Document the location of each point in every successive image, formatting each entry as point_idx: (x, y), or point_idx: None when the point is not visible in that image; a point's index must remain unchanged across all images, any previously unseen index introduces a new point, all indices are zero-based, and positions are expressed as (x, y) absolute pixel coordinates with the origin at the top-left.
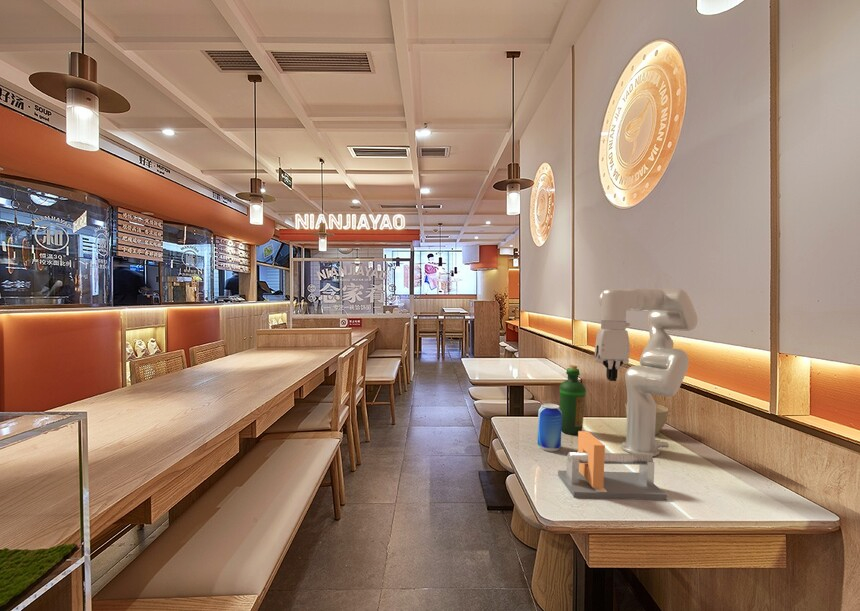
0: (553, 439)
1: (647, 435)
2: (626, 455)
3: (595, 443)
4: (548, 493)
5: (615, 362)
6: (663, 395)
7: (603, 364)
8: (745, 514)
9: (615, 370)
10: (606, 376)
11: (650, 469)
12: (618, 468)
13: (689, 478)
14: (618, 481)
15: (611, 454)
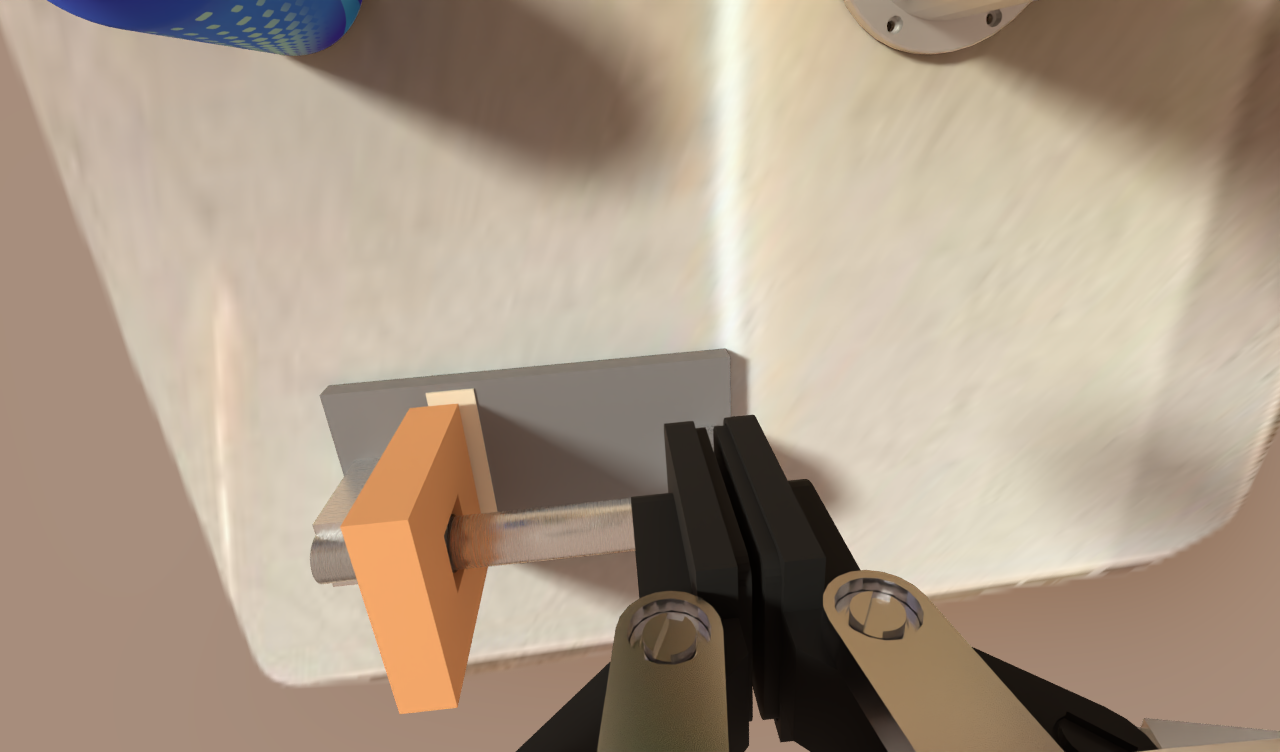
0: (274, 48)
1: (1014, 4)
2: (613, 551)
3: (412, 692)
4: (281, 545)
5: (965, 744)
6: None
7: (540, 747)
8: (935, 566)
9: (783, 719)
10: (631, 497)
11: None
12: (662, 258)
13: (955, 323)
14: (584, 461)
15: (536, 557)
